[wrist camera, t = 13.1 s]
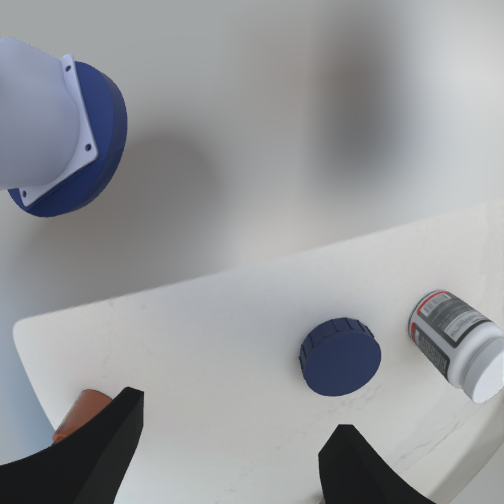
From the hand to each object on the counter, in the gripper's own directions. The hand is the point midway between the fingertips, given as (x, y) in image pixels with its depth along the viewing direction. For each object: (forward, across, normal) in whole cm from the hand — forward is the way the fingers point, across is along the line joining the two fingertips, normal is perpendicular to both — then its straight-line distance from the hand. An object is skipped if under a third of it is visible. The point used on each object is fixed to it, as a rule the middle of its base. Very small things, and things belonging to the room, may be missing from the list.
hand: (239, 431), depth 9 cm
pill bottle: (+10, -14, -2) cm, 17 cm away
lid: (+8, -7, +1) cm, 10 cm away
